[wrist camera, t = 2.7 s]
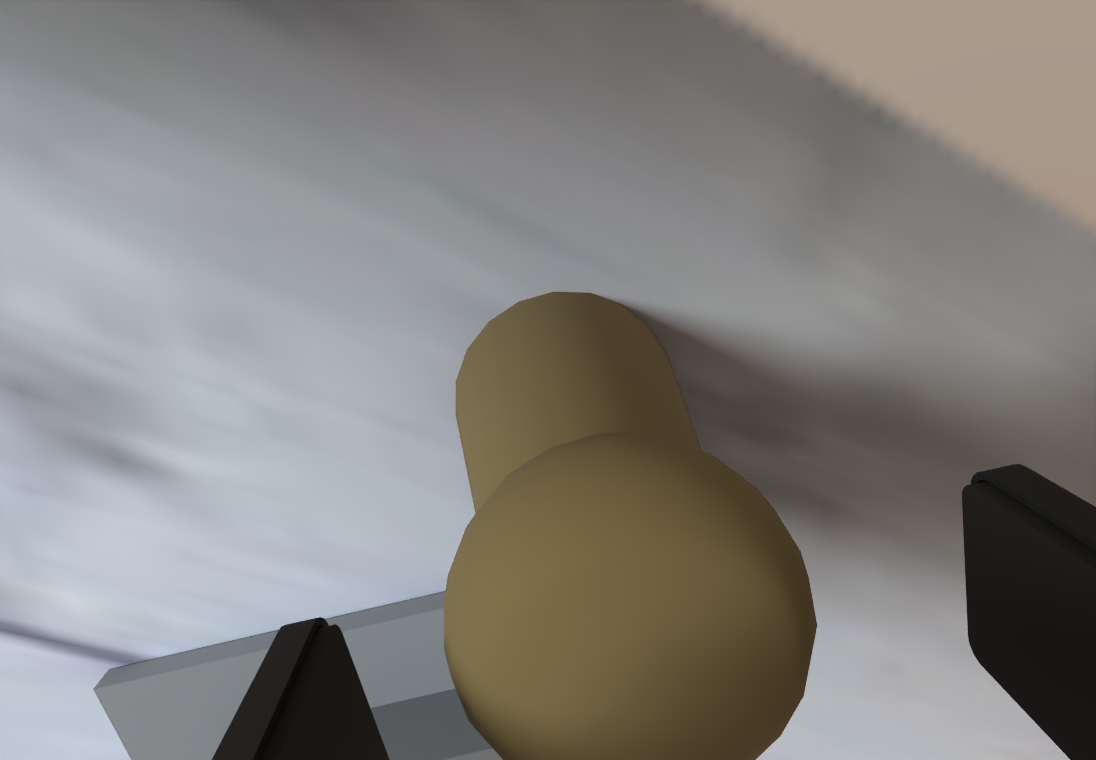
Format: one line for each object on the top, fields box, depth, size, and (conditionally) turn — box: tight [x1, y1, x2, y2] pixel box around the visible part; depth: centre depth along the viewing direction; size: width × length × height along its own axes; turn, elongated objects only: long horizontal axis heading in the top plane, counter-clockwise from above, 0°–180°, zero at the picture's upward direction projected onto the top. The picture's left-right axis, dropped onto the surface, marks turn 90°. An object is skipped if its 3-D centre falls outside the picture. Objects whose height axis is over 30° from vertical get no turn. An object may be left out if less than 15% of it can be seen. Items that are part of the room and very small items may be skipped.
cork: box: [444, 292, 817, 760], centre depth 13 cm, size 6×6×11 cm
